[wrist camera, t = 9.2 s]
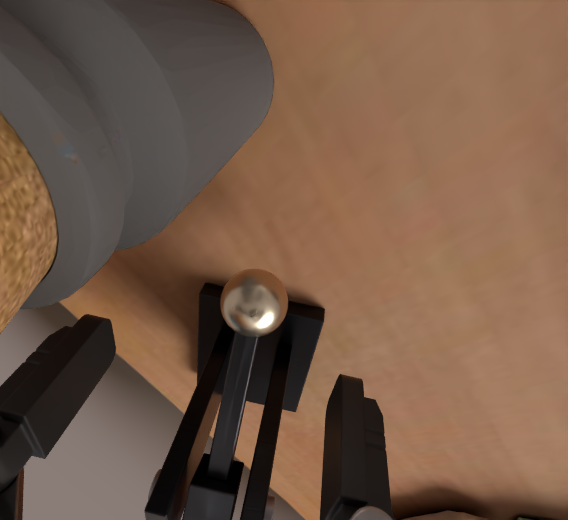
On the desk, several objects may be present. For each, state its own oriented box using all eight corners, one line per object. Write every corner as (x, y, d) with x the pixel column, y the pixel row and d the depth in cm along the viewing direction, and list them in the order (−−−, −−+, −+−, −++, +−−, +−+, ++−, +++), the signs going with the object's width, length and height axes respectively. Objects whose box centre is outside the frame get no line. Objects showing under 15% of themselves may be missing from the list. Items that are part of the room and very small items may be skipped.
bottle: (199, 163, 18) (-113, 441, 6) (125, 48, 16) (-707, 100, 3) (297, 109, 16) (136, 369, 4) (230, -34, 14) (-1015, -774, 1)
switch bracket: (205, 282, 23) (99, 470, 13) (325, 308, 22) (309, 521, 13) (201, 377, 28) (125, 559, 18) (297, 399, 28) (272, 595, 18)
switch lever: (234, 260, 18) (220, 264, 15) (295, 273, 18) (294, 280, 15) (186, 494, 19) (163, 546, 16) (244, 508, 19) (232, 563, 15)
